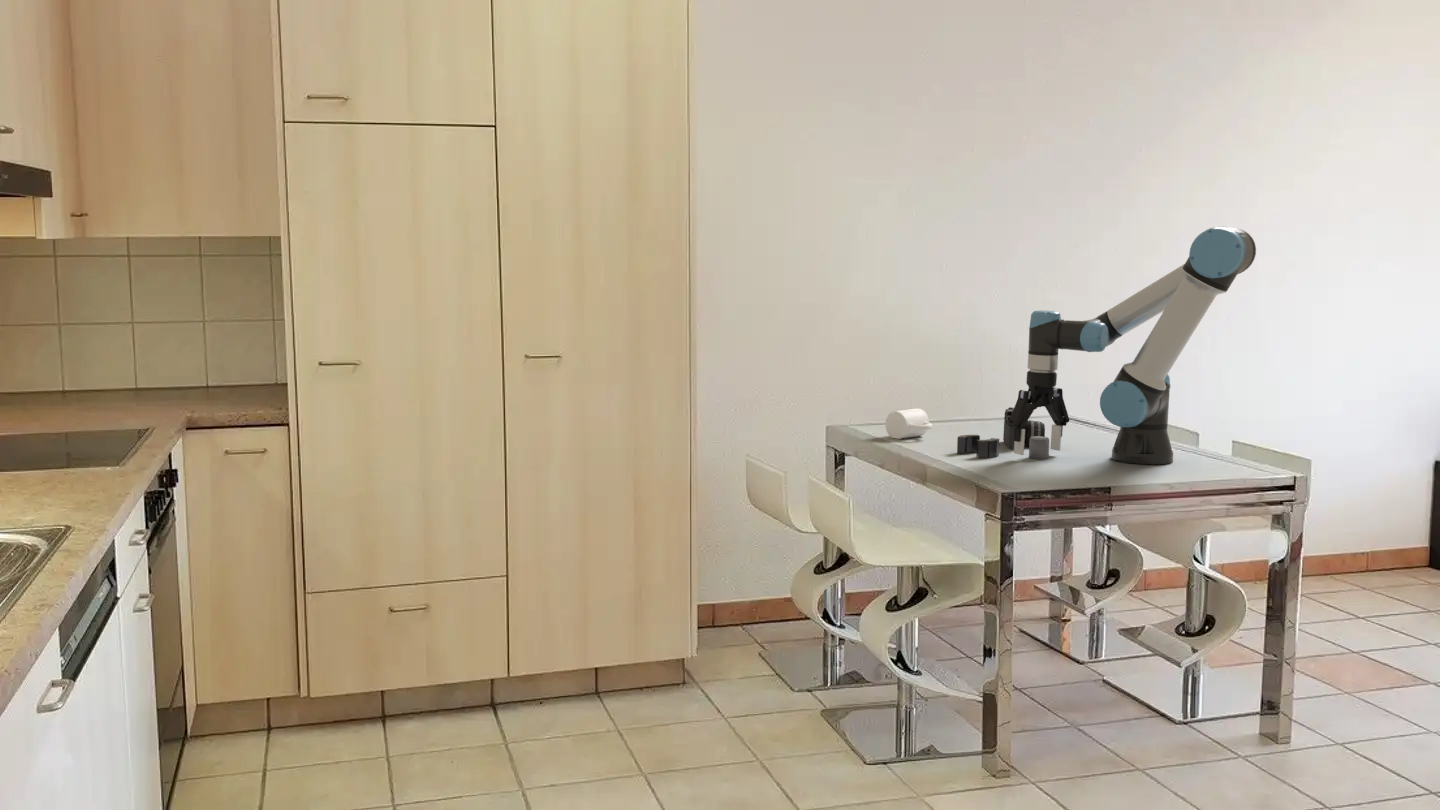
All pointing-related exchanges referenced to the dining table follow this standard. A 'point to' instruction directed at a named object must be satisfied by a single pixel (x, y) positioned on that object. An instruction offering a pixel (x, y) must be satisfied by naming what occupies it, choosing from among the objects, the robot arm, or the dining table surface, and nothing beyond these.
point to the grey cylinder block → (1039, 448)
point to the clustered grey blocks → (978, 446)
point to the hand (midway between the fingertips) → (1037, 452)
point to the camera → (1030, 428)
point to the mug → (907, 423)
